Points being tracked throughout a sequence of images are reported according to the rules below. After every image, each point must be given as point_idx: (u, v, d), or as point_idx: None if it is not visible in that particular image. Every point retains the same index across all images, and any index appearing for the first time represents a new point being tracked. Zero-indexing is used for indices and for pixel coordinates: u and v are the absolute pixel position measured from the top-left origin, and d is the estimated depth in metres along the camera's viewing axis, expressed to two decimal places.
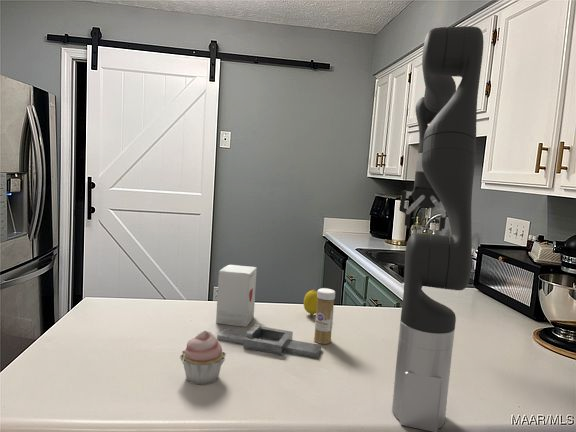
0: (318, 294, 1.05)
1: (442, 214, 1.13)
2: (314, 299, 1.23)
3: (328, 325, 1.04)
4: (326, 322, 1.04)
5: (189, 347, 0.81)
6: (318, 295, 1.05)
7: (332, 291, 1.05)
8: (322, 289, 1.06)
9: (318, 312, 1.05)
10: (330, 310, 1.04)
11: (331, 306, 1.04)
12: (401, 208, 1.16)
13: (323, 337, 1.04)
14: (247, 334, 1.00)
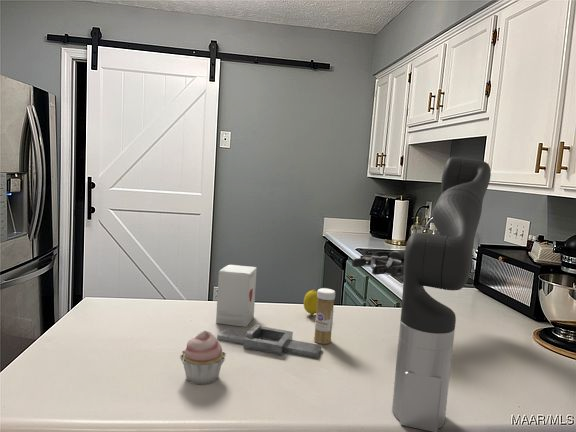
0: (318, 294, 1.05)
1: (387, 264, 1.09)
2: (314, 299, 1.23)
3: (328, 325, 1.04)
4: (327, 322, 1.04)
5: (189, 347, 0.81)
6: (318, 295, 1.05)
7: (332, 291, 1.05)
8: (322, 289, 1.06)
9: (318, 312, 1.05)
10: (330, 310, 1.04)
11: (331, 306, 1.04)
12: None
13: (323, 337, 1.04)
14: (247, 334, 1.00)
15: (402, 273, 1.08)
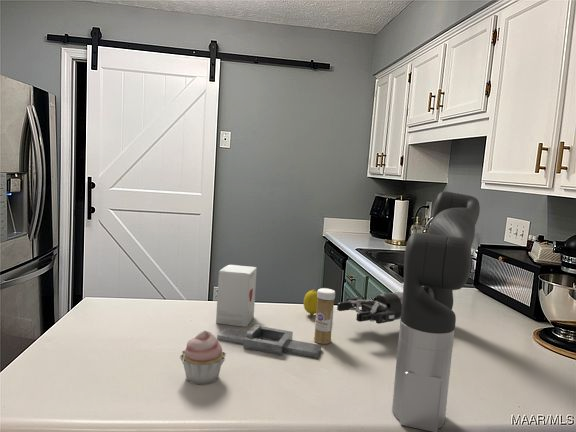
0: (318, 294, 1.05)
1: (372, 311, 1.08)
2: (314, 299, 1.23)
3: (328, 325, 1.04)
4: (326, 322, 1.04)
5: (189, 347, 0.81)
6: (318, 295, 1.05)
7: (332, 291, 1.05)
8: (322, 289, 1.06)
9: (318, 312, 1.05)
10: (330, 310, 1.04)
11: (331, 306, 1.04)
12: (349, 298, 1.18)
13: (323, 337, 1.04)
14: (247, 334, 1.00)
15: (387, 320, 1.07)
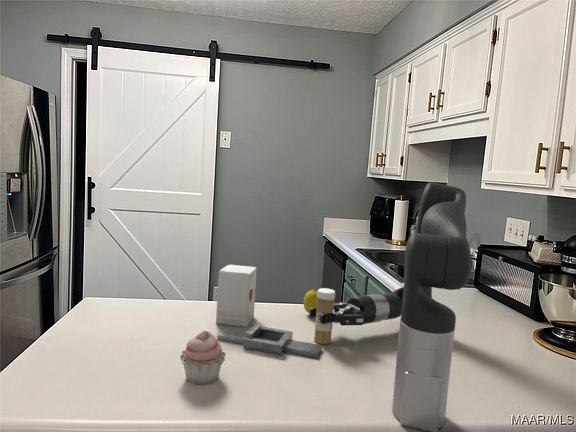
0: (318, 294, 1.05)
1: (336, 312, 1.05)
2: (314, 299, 1.23)
3: (328, 325, 1.04)
4: None
5: (189, 347, 0.81)
6: (318, 295, 1.05)
7: (332, 291, 1.05)
8: (322, 289, 1.06)
9: (318, 312, 1.05)
10: (330, 310, 1.04)
11: (331, 306, 1.04)
12: None
13: (323, 337, 1.04)
14: (247, 334, 1.00)
15: (352, 323, 1.03)
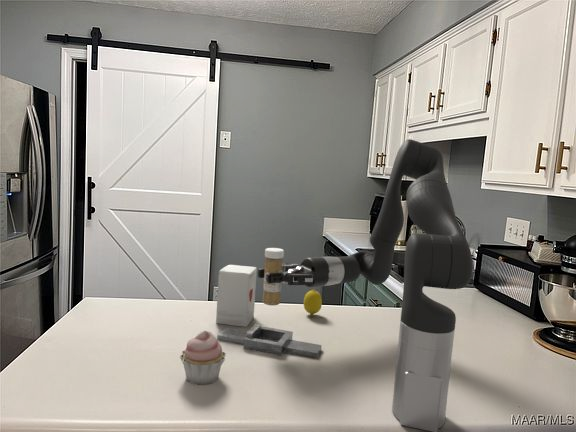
0: (265, 253, 0.99)
1: (285, 272, 0.99)
2: (314, 299, 1.23)
3: (275, 285, 0.99)
4: (274, 283, 0.99)
5: (189, 347, 0.81)
6: (265, 254, 0.99)
7: (280, 250, 0.99)
8: (270, 248, 1.01)
9: (266, 272, 0.99)
10: (278, 270, 0.99)
11: (279, 265, 0.99)
12: None
13: (270, 298, 0.99)
14: (247, 334, 1.00)
15: (301, 282, 0.98)
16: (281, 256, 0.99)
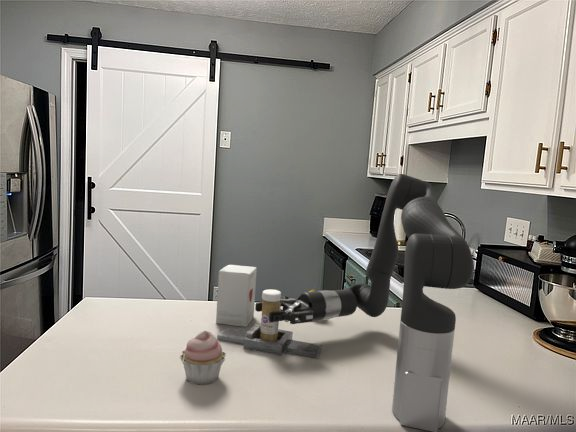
0: (263, 295, 1.00)
1: (287, 310, 0.99)
2: None
3: (273, 328, 1.00)
4: (271, 325, 1.00)
5: (189, 347, 0.81)
6: (263, 296, 1.00)
7: (277, 292, 1.01)
8: (268, 290, 1.02)
9: (263, 314, 1.01)
10: None
11: (276, 308, 1.00)
12: None
13: (267, 340, 1.00)
14: (247, 334, 1.00)
15: (303, 320, 0.98)
16: (278, 299, 1.00)
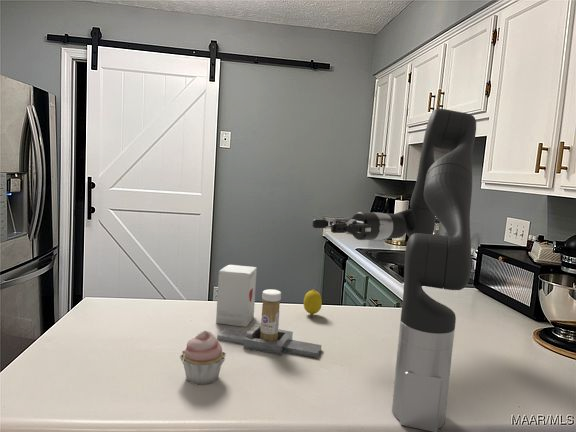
0: (263, 295, 1.00)
1: None
2: (314, 299, 1.23)
3: (273, 328, 1.00)
4: (271, 325, 1.00)
5: (189, 347, 0.81)
6: (263, 296, 1.00)
7: (277, 292, 1.01)
8: (268, 290, 1.02)
9: (263, 314, 1.01)
10: (275, 312, 1.00)
11: (276, 308, 1.00)
12: (325, 218, 1.13)
13: (267, 340, 1.00)
14: (247, 334, 1.00)
15: (363, 232, 1.03)
16: (278, 299, 1.00)
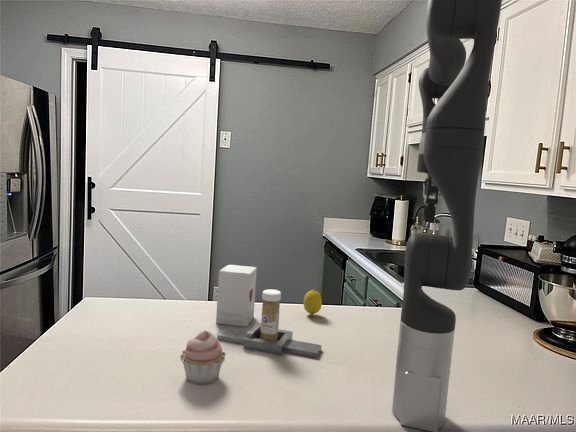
0: (263, 295, 1.00)
1: (425, 202, 0.97)
2: (314, 299, 1.23)
3: (273, 328, 1.00)
4: (271, 325, 1.00)
5: (189, 347, 0.81)
6: (263, 296, 1.00)
7: (277, 292, 1.01)
8: (268, 290, 1.02)
9: (263, 314, 1.01)
10: (275, 312, 1.00)
11: (276, 308, 1.00)
12: (424, 197, 1.07)
13: (267, 340, 1.00)
14: (247, 334, 1.00)
15: (436, 190, 0.93)
16: (278, 299, 1.00)
